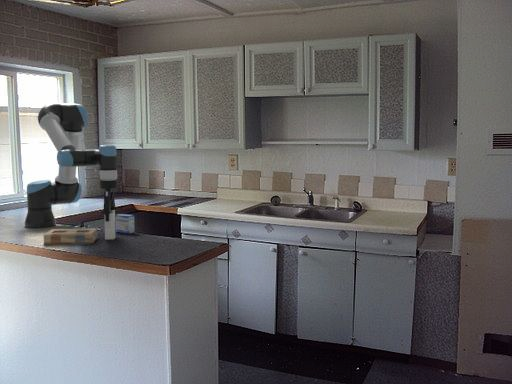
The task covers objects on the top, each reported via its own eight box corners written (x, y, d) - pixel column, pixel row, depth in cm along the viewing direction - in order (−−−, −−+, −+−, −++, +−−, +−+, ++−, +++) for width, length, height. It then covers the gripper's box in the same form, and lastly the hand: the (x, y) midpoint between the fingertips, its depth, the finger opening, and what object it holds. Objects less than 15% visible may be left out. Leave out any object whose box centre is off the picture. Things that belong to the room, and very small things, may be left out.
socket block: (52, 238, 240) (51, 228, 239) (97, 237, 242) (97, 227, 242) (43, 245, 226) (43, 234, 225) (91, 244, 228) (91, 233, 228)
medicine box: (115, 232, 256) (115, 215, 255) (120, 231, 260) (120, 213, 259) (129, 233, 253) (129, 215, 252) (134, 232, 257) (134, 214, 257)
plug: (106, 237, 243) (105, 209, 242) (115, 237, 243) (114, 209, 242) (105, 239, 239) (104, 211, 238) (114, 239, 240) (113, 210, 238)
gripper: (104, 177, 250) (105, 222, 252) (95, 181, 226) (97, 230, 228) (120, 177, 251) (121, 221, 253) (113, 181, 227) (114, 230, 229)
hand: (110, 226), depth 240 cm, fingers open, 13 cm apart
